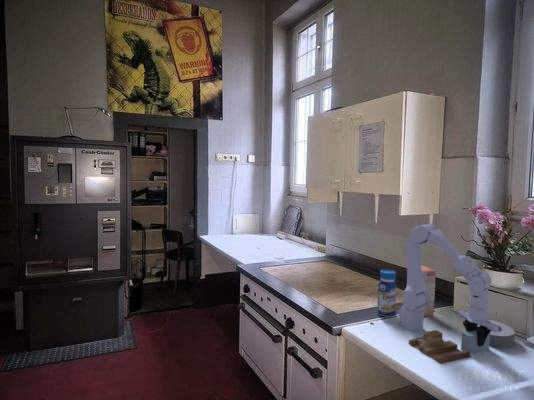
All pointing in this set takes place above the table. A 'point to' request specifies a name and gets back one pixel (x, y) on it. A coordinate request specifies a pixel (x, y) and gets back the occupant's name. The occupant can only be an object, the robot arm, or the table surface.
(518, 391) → the table surface
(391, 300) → the beverage bottle
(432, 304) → the cracker box
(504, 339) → the tape roll
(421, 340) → the block
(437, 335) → the offcut short
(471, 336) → the blue-grey rectangular block
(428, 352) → the rack
